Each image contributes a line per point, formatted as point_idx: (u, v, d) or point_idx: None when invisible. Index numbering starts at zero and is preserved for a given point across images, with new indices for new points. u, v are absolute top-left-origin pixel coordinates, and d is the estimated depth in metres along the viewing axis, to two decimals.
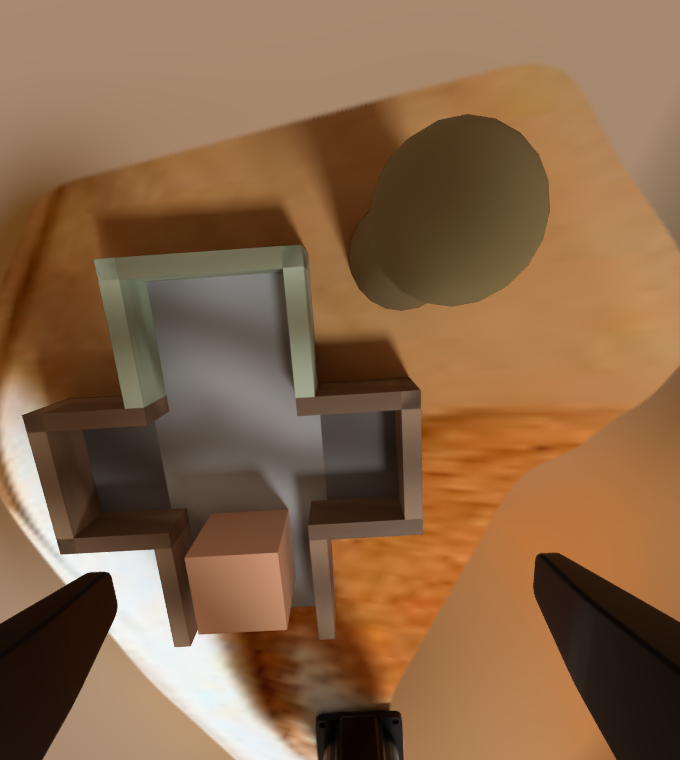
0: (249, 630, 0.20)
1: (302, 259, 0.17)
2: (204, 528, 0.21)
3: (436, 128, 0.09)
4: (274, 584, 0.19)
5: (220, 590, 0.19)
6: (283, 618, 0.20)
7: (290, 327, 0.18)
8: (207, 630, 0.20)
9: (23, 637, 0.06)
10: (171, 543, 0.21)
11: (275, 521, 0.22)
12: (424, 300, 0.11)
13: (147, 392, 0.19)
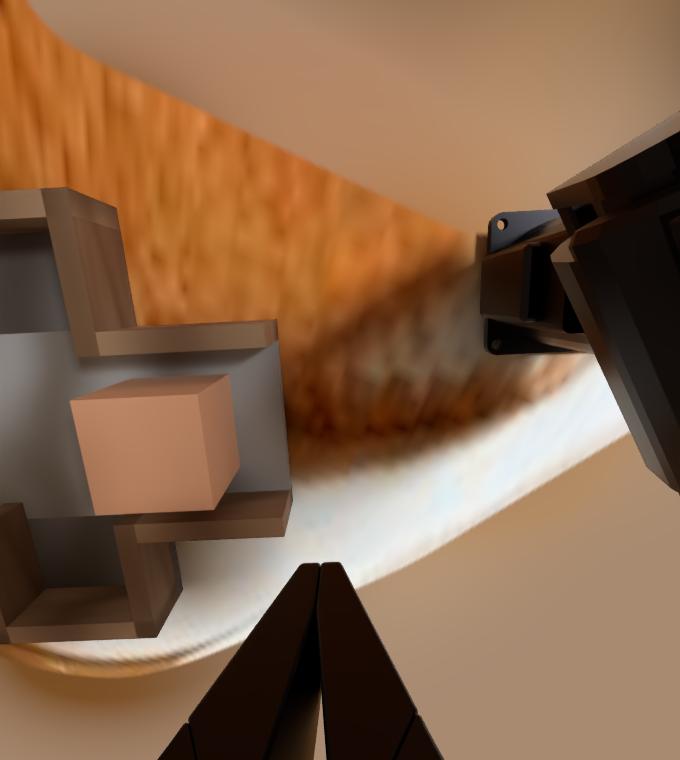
0: (203, 445, 0.14)
1: None
2: None
3: None
4: (120, 407, 0.14)
5: (138, 476, 0.15)
6: (179, 398, 0.14)
7: None
8: (206, 498, 0.15)
9: (303, 626, 0.06)
10: (131, 523, 0.17)
11: None
12: None
13: None
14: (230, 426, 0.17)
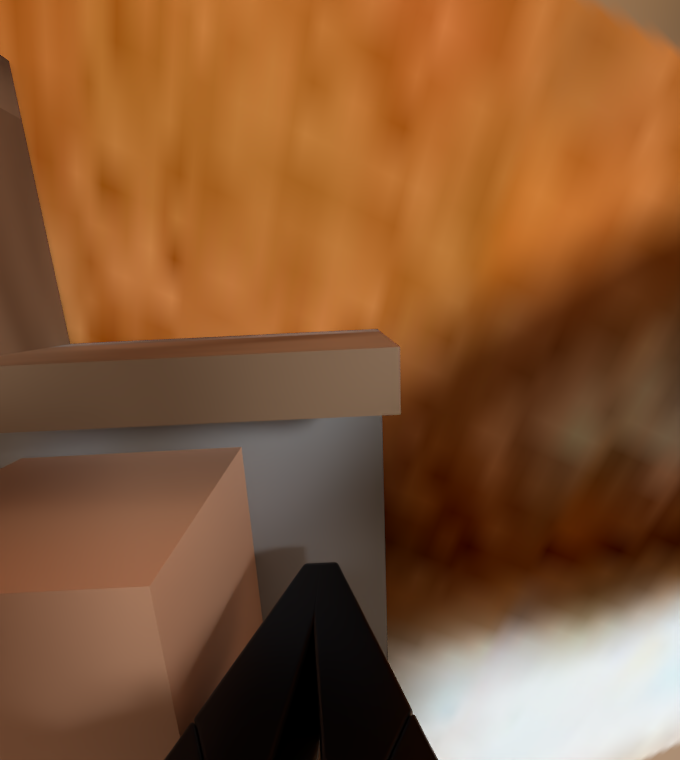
0: (173, 724, 0.05)
1: None
2: None
3: None
4: None
5: None
6: (91, 596, 0.04)
7: None
8: None
9: (307, 626, 0.06)
10: None
11: None
12: None
13: None
14: (244, 567, 0.08)
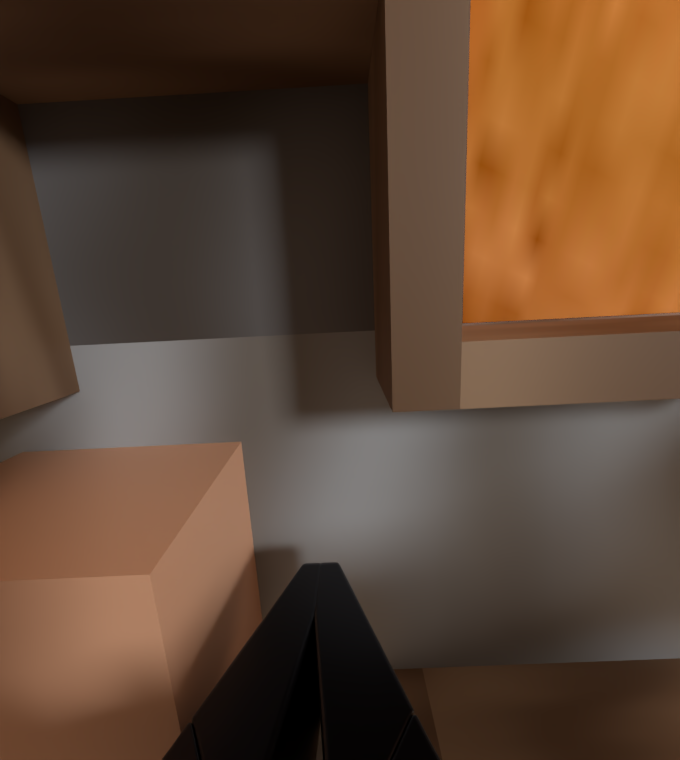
0: (172, 712, 0.05)
1: None
2: None
3: None
4: None
5: None
6: (92, 584, 0.04)
7: None
8: None
9: (305, 625, 0.06)
10: None
11: None
12: None
13: None
14: (243, 560, 0.08)
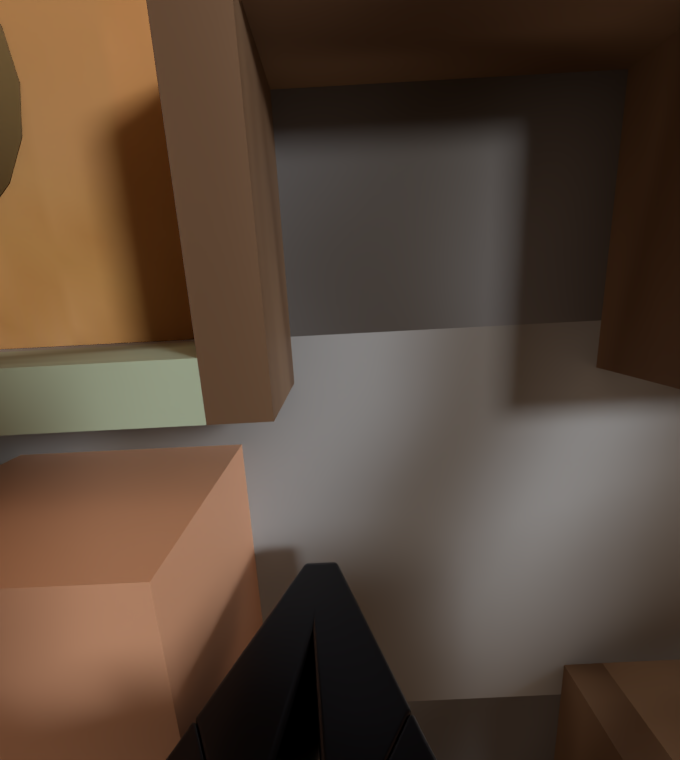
0: (172, 721, 0.05)
1: None
2: None
3: None
4: None
5: None
6: (91, 591, 0.04)
7: None
8: None
9: (308, 625, 0.06)
10: None
11: None
12: None
13: None
14: (244, 565, 0.08)
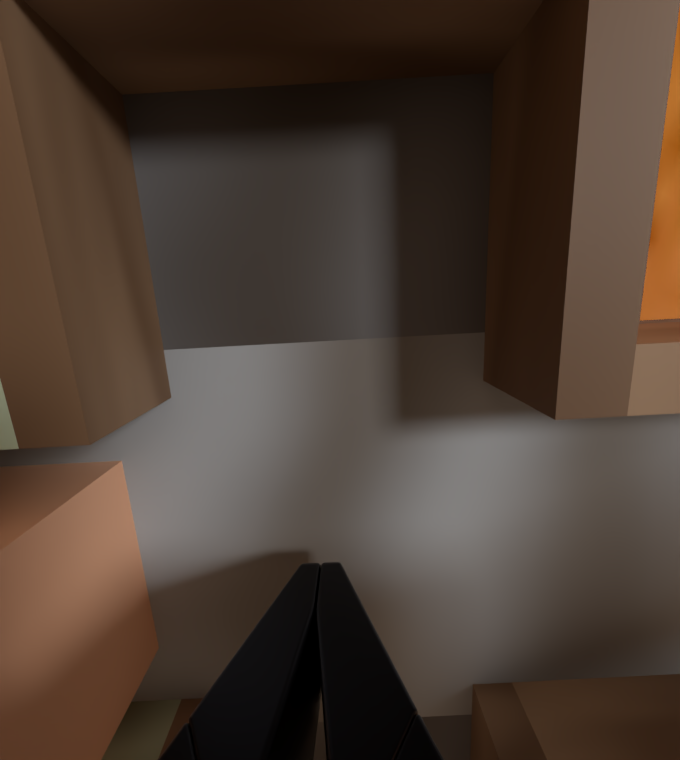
0: None
1: None
2: None
3: None
4: None
5: None
6: None
7: None
8: None
9: (303, 626, 0.06)
10: None
11: None
12: None
13: None
14: (121, 586, 0.07)
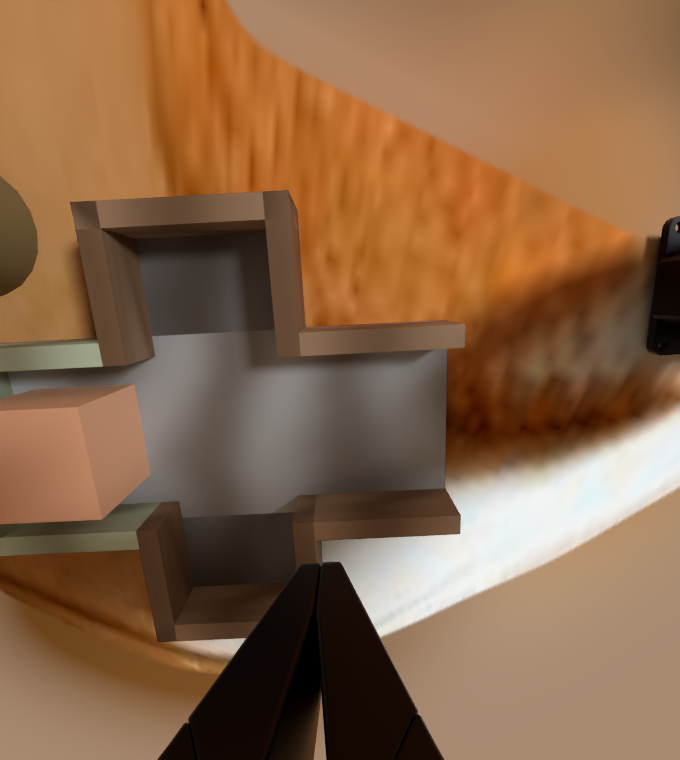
0: (87, 456, 0.15)
1: None
2: None
3: None
4: (3, 419, 0.14)
5: (25, 487, 0.15)
6: (60, 411, 0.14)
7: (17, 368, 0.15)
8: (93, 508, 0.15)
9: (303, 626, 0.06)
10: (309, 521, 0.17)
11: None
12: None
13: (129, 524, 0.18)
14: (133, 436, 0.18)
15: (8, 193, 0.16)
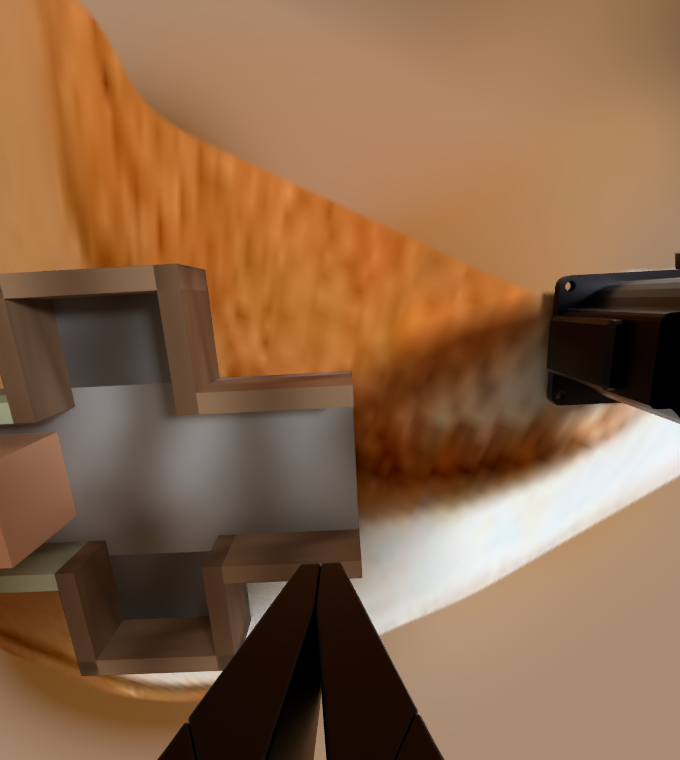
0: None
1: None
2: None
3: None
4: None
5: None
6: None
7: None
8: (4, 558, 0.16)
9: (303, 626, 0.06)
10: (218, 565, 0.18)
11: None
12: None
13: (50, 565, 0.19)
14: (55, 482, 0.19)
15: None
